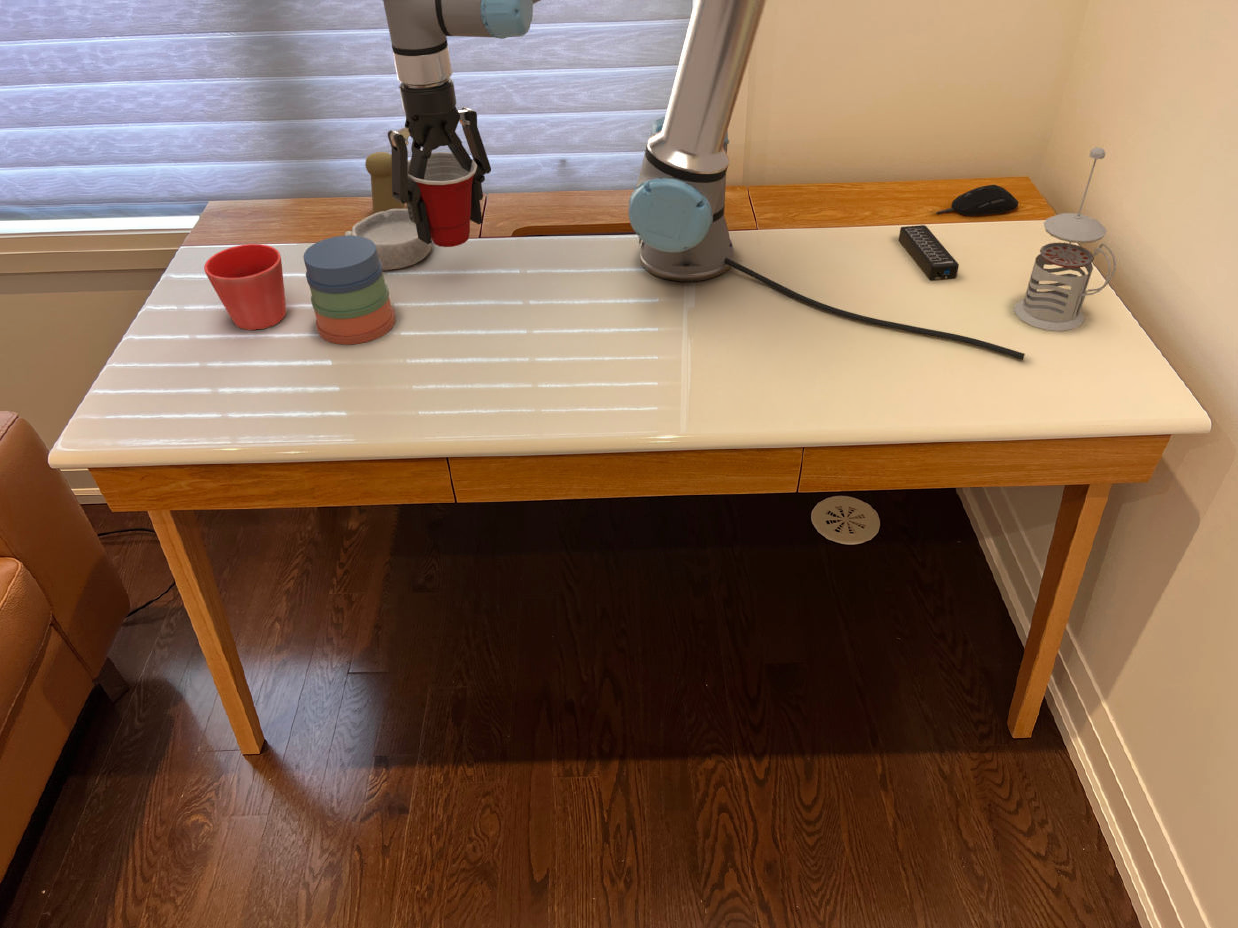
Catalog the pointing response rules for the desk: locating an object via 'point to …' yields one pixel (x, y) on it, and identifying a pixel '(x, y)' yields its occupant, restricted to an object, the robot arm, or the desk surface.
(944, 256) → the multiport hub
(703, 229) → the robot arm
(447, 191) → the plastic cup
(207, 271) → the flower pot
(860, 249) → the desk surface
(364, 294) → the cup stack
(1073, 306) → the french press
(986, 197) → the gaming mouse
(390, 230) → the dish
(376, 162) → the wooden peg doll
